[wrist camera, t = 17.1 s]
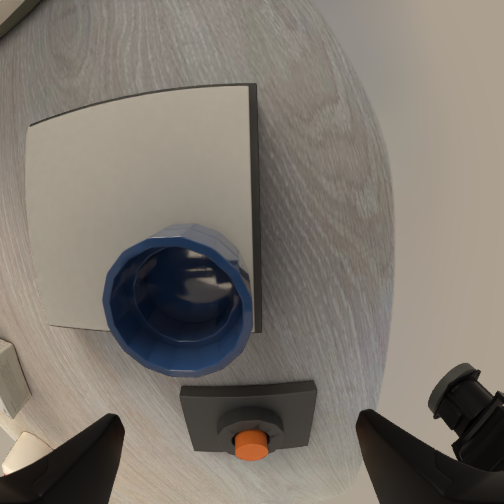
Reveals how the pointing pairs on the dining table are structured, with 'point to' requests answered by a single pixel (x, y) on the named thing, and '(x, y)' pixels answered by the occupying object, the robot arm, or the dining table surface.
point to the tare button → (251, 445)
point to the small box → (11, 381)
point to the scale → (138, 187)
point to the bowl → (14, 12)
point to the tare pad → (249, 414)
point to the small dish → (180, 301)
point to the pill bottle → (24, 453)
